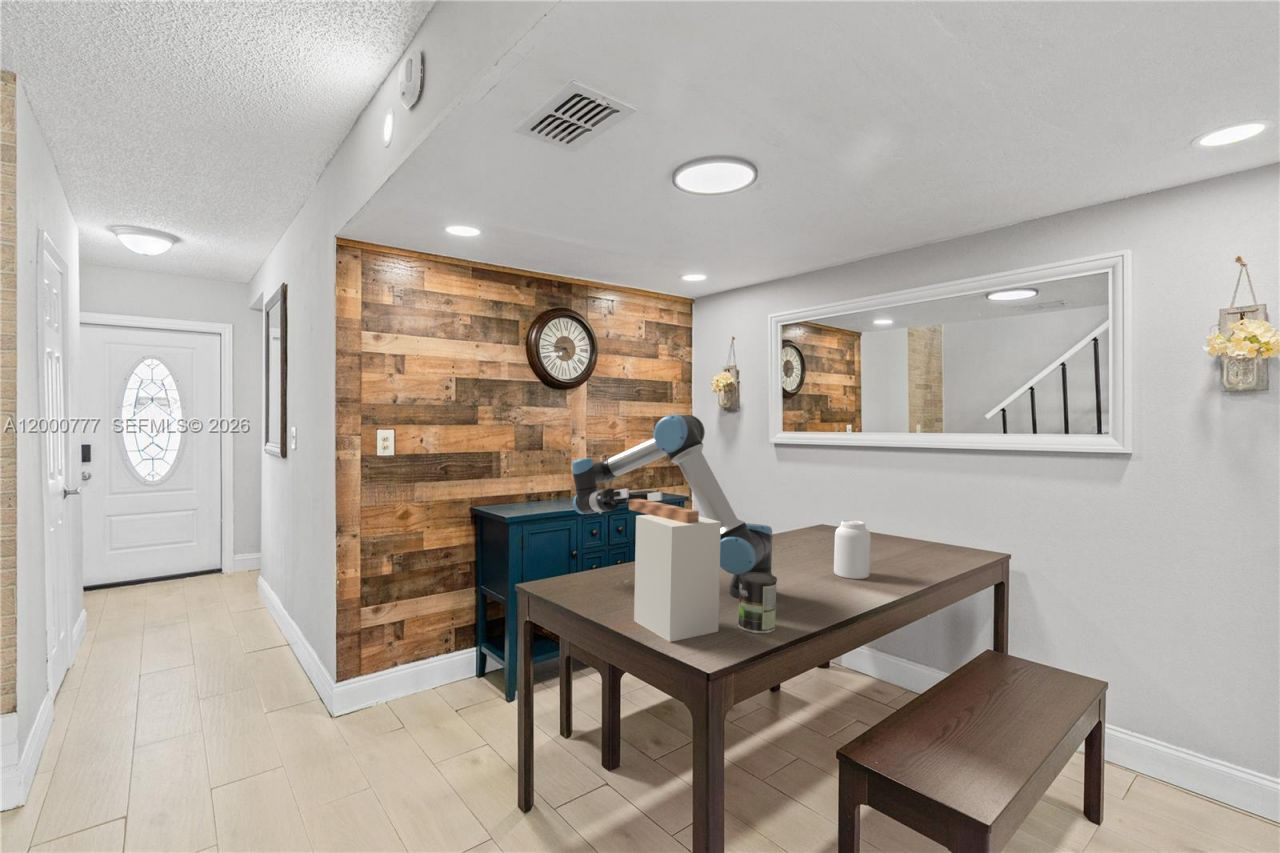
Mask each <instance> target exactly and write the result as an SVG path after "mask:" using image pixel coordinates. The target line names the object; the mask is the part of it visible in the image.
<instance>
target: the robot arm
mask: <svg viewBox="0 0 1280 853" xmlns="http://www.w3.org/2000/svg"><path fill="white" fill-rule="evenodd" d="M705 433H706V432H705V426H704V424H703V422H702V421H701V420H700V419H699V418H698V417H697V416H694V415H691V414H669V415H666V416H663V417H662V418H660V420H658V422H657V423H656V424H655V427H654V431H653V437H652V438H649V439H647V440H646V441H643V442H641V443H639V444H637V445H634V446H631V447H630V448H629V449H626V450H624V451H621V452H619V453H618V454H615V455H613V456H611V457H609V458H607V459H604V460H602V461H599V462H594V461H593V459H592V458H591V457H585V458H579V459H574V460H573V461H572V462H571V467H572V475H573V476H572V477H573V482H574V487H575V490H576V491H575V492H576V495H575V496H574V497H573V499H572V500H573V501H572V507H573V509H574V511H575V512H577V513H578V514H580V515H590V514H596V513H598V514H600V515H601V514H603V512H605V513H606V512H612V511H616V510H617V509H618V508H619V506H622V505H629V499H644V500H649V501H654V502H659V501H663V491H654V492H652V491H648V493H647V494H644V493H643V494H631V493H630V491H629V490H630V489H629V488H627V487H626V488H622V489H615V488H612V487H611V488H604V489H598V484H600V483H608V482H609V483H610V482H612V481H614V480H615V479H616V478H618V477H619V476H622V475H624V474H626V473H628V472H631V471H634V470H635V469H638V468H640V467H642V466H644V465H647V464H650V463H652V462H655V461H656V460H659V459H661V458H663V457H666V456H667V457H668V458H669V460H670V462H671V463H672V464H676V465H678V467H679V469H680V471H681V472H682V475H683V477H684V478H685V481H686V482H687V484H688V487H689V488H690V490H691V492H692V494H693V496H694V498H695V500H696V501H697V503H698V506H699V507H700V510H701V511H702V512H703V515H704V518H708V519H712V520H716V521H719V522H721V540H720V569H722V570H723V571H725V572H727V573H729V574H730V575H732V578H731V581H730V584H729V594H730V595H731V596H733V597H734V598H738V599H739V592H740V591H739V590H740V578H739V576H740V575H741V574H743V573H748V572H760V573H766V574H770V575H773V574H772V565H773V564H772V562H773V559H772V558H773V556H772V554H773V538H774V537H773V536H774V535H773V528H772V527H771V526H769V525H768V524H767V525H765V524H759V523H749V522H747V523H746V522H745V521H744V520H740V519H738V517H737V516H736V513H735V512H734V509H733V508H732V506H731V504H730V502H729V500H728V498H727V497H726V495H725V493H724V492H723V489H722V487H721V486H720V484H719V482H718V480H717V478H716V476H715V475H714V473H713V471H712V469H711V467H710V465H709V463H708V461H707V460H706V457H705V456H704V454H703V449H704V444H703V440H704V438H705Z"/></svg>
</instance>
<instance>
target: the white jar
mask: <svg viewBox="0 0 1280 853" xmlns="http://www.w3.org/2000/svg"><path fill="white" fill-rule="evenodd" d="M871 536H872V535H871V532H870V531H869V529H868V528H866V524H865V522H863V521H861V520H854V519H852V520H851V519H844V520H842V521H841V522H840V526H839V527H837V528H836V529H835V532H834V547H833V548H834V550H833V552H834V553H833V555H834V556H833V573H834V574H835V575H836V576H838V577H840V578H844V579H850V580H851V579H852V580H864V579H867V578H869V576H870V574H871V572H870V571H871V570H870V568H871V567H870V566H871V540H872V539H871V538H872V537H871Z"/></svg>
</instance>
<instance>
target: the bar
mask: <svg viewBox="0 0 1280 853" xmlns="http://www.w3.org/2000/svg"><path fill="white" fill-rule="evenodd" d="M628 510H629V511H634V512H638V513H641V514H644V515H654V516H658V517H662V518H666V519H671V520H675V521H679V522H683V523H695V522H698V519H699V516H700V515H699V513H700V512H699V510H696V509H691V508H687V507H681V506H676V505H672V504H667V503H662V502H659V501H649V500H644V499H629V504H628Z"/></svg>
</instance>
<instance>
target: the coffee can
mask: <svg viewBox="0 0 1280 853" xmlns="http://www.w3.org/2000/svg"><path fill="white" fill-rule="evenodd" d="M739 578H740V590H739V591H740V592H739V598H738V601H739V602H738V624H737V626H738V627H739V629H741V630H742V631H745V632H748V633H751V634H752V633H753V634H768V633H769V634H770V633H772V632H774V631H775V630H776V611H777V610H776V605H777V604H776V603H777V582H778V577H776V576H775V575H773V574H772V575H770V574H766V573H760V572H748V573H743V574H741V575H740V576H739Z"/></svg>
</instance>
